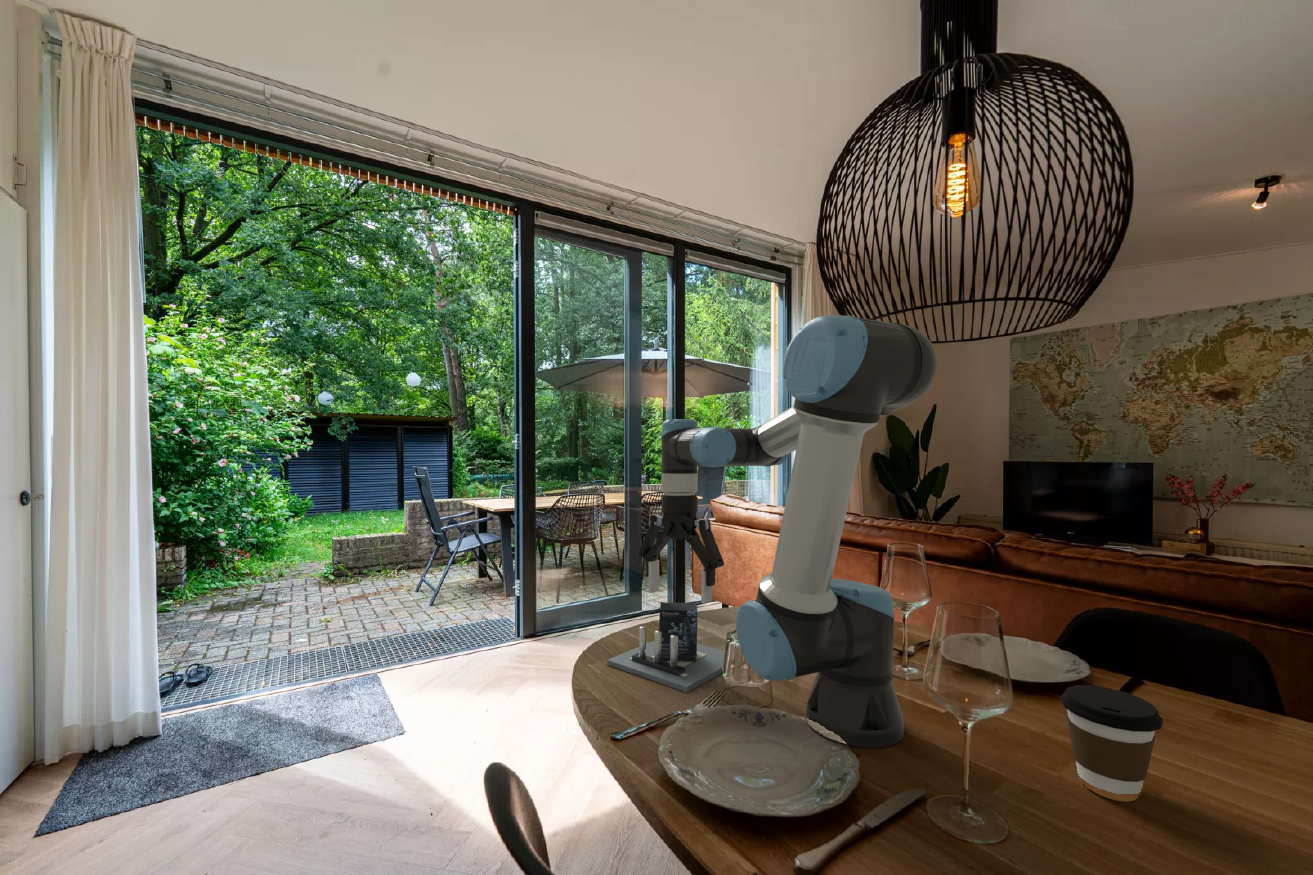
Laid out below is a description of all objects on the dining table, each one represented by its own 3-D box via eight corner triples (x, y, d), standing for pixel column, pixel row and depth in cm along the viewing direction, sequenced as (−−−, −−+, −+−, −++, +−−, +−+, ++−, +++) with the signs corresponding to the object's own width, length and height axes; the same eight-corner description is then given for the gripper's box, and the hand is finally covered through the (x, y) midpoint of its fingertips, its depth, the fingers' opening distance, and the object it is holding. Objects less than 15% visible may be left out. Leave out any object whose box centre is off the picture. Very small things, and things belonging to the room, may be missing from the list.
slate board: (742, 661, 123) (742, 655, 123) (686, 692, 108) (686, 685, 108) (667, 639, 136) (667, 634, 136) (607, 664, 120) (607, 658, 120)
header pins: (685, 672, 114) (685, 636, 114) (678, 676, 112) (679, 639, 112) (638, 657, 122) (638, 623, 122) (631, 660, 120) (632, 626, 120)
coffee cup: (1167, 826, 72) (1169, 728, 72) (1059, 794, 78) (1060, 703, 78) (1156, 783, 81) (1157, 696, 81) (1060, 758, 87) (1061, 677, 87)
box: (658, 661, 119) (659, 609, 119) (659, 651, 125) (660, 601, 125) (697, 662, 119) (697, 610, 119) (696, 652, 125) (697, 602, 125)
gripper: (741, 495, 117) (741, 602, 117) (645, 490, 133) (644, 584, 132) (720, 498, 111) (720, 610, 111) (622, 491, 127) (622, 590, 127)
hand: (679, 596), depth 122 cm, fingers open, 13 cm apart
